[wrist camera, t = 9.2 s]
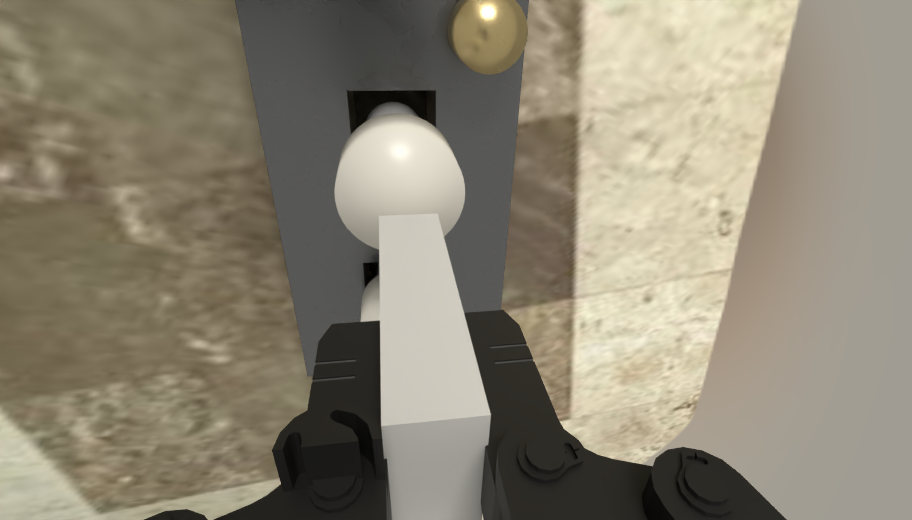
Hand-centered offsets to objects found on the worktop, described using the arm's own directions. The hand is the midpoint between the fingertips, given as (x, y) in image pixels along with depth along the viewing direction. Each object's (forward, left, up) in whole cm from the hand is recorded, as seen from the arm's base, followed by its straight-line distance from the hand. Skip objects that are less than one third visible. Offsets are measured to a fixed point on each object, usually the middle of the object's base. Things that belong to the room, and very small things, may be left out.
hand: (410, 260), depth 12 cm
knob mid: (0, 0, -12) cm, 12 cm away
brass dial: (-5, +4, -12) cm, 13 cm away
